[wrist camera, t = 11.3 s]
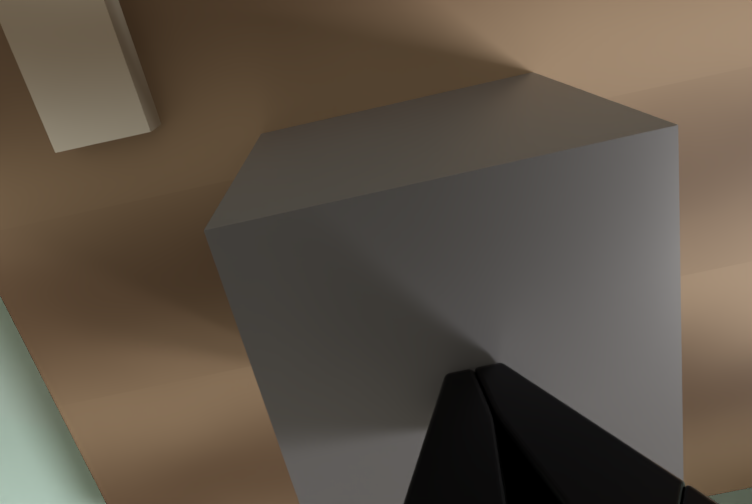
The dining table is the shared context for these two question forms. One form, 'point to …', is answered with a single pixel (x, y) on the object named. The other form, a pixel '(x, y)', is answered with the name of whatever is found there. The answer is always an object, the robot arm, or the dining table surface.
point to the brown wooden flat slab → (292, 108)
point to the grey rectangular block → (455, 272)
